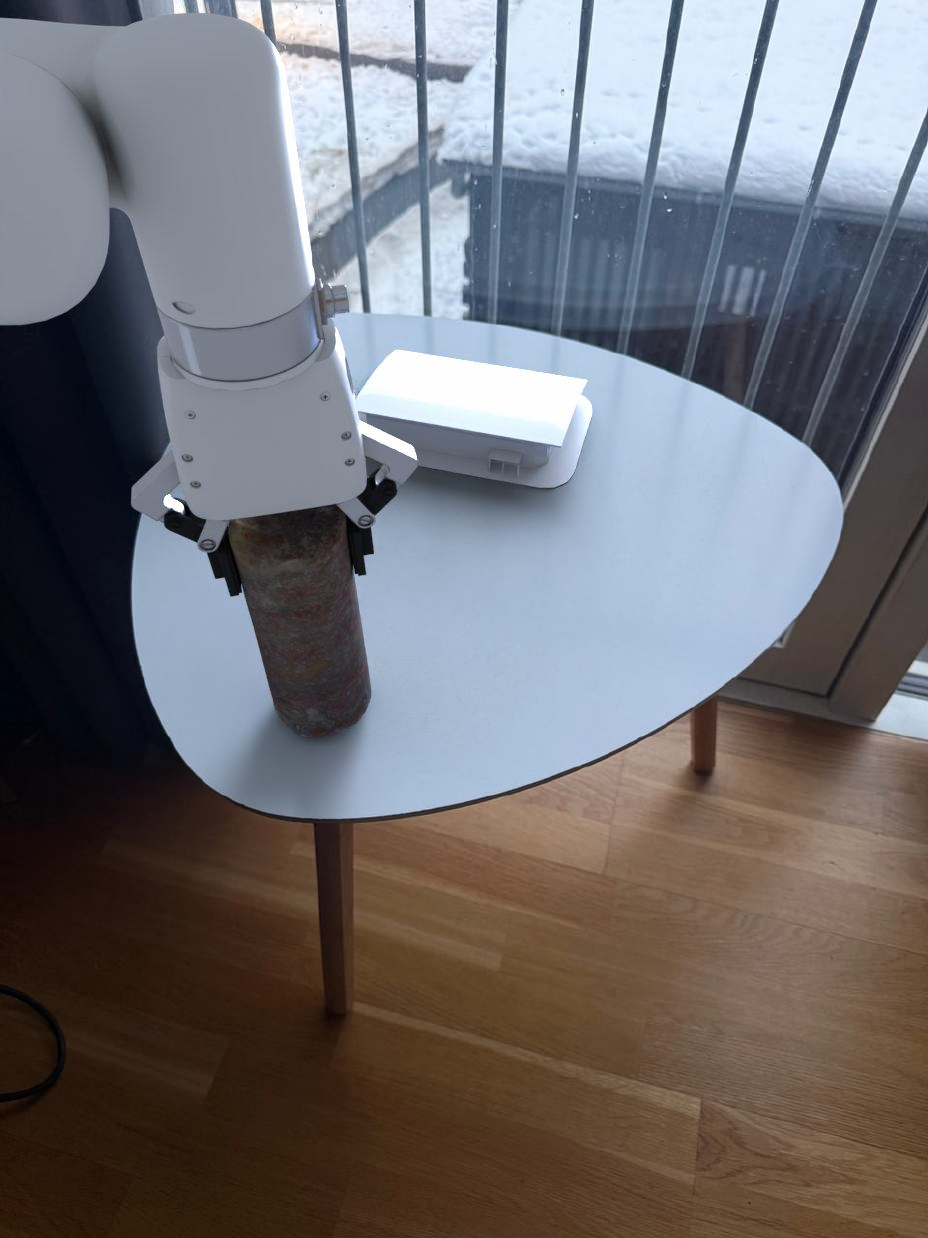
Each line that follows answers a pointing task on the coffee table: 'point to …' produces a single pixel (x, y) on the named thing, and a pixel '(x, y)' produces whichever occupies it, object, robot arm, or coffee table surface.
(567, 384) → the white flat lidded device
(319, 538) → the brown weathered cylinder
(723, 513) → the coffee table surface
